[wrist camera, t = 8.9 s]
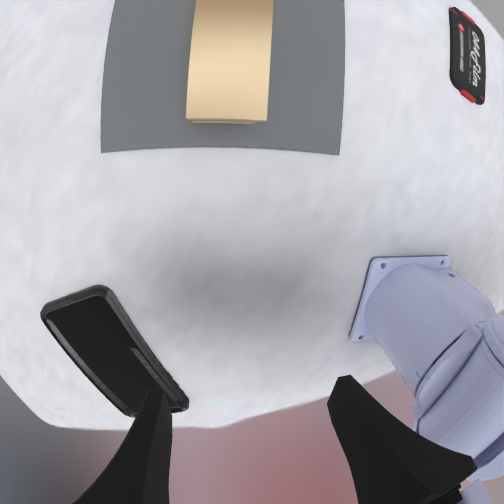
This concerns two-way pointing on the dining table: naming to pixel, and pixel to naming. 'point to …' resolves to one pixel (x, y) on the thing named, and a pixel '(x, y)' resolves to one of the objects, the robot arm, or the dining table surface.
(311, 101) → the rubber mat
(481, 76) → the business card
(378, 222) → the dining table surface
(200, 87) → the oak domino
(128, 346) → the phone
